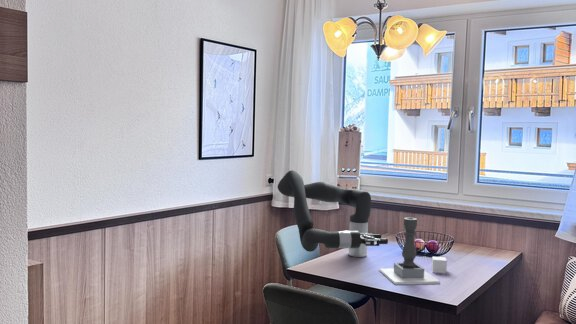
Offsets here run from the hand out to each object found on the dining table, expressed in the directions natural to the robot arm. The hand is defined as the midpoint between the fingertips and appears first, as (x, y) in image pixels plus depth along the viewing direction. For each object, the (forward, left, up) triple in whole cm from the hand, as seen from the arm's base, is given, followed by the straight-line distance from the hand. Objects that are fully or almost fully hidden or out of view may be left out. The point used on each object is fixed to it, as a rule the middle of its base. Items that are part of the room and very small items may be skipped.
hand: (384, 238), depth 227 cm
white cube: (-7, +30, -17) cm, 35 cm away
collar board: (+1, +12, -17) cm, 21 cm away
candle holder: (+1, +12, -16) cm, 20 cm away
